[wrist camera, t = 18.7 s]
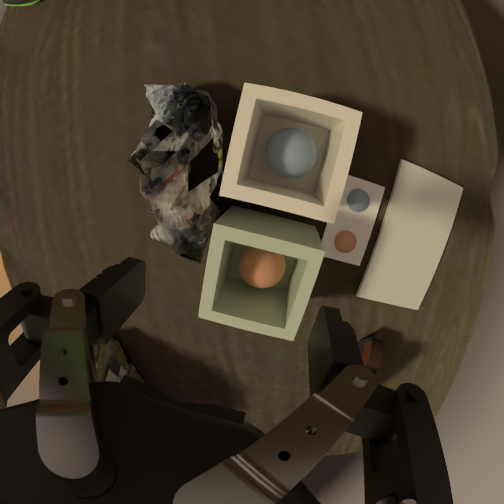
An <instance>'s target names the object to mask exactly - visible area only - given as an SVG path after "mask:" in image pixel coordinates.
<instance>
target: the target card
mask: <svg viewBox="0 0 504 504" xmlns="http://www.w3.org/2000/svg"><path fill="white" fill-rule="evenodd" d="M384 190H385V187H383V186H380V185H377V184H374V183H371V182H368V181H365V180H362V179H359V178H356V177H353V176H350V175H348V176H347V180H346V184H345V187H344V191H343V195H342V198H341V202H340V205H339V209H338V212H337V216H336V219H335V222H334V224H331V223H327V224H326V227H325V230H324V234H323V237H322V240H321V242H322V244H323V247H324V249H325V254H324V257H327V258H331V259H335V260H339V261H342V262H346V263H350V264H354V265H358V266H360V264H361V261H362V258H363V255H364V253H365V250H366V247H367V244H368V241H369V238H370V235H371V232H372V229H373V226H374V223H375V220H376V217H377V213H378V210H379V207H380V203H381V200H382V197H383V193H384Z"/></svg>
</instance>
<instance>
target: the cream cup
mask: <svg viewBox="0 0 504 504" xmlns="http://www.w3.org/2000/svg"><path fill="white" fill-rule="evenodd" d="M362 113H363V112H360V111H357V110H354V109H351V108H348V107H345V106H342V105H339V104H336V103H332V102H329V101H326V100H322V99H318V98H315V97H311V96H307V95H303V94H299V93H295V92H291V91H286V90H282V89H277V88H272V87H267V86H262V85H256V84H250V83H244V86H243V90H242V94H241V99H240V103H239V107H238V111H237V115H236V119H235V124H234V128H233V132H232V137H231V141H230V146H229V150H228V155H227V159H226V164H225V169H224V174H223V178H222V183H221V188H220V193H219V196H224V197H228V198H232V199H237V200H241V201H245V202H250V203H254V204H258V205H262V206H266V207H270V208H274V209H278V210H282V211H286V212H290V213H294V214H298V215H301V216H305V217H309V218H313V219H316V220H320V221H324V222H327V223H331V224H334V222H335V219H336V216H337V212H338V209H339V205H340V202H341V198H342V195H343V191H344V187H345V184H346V180H347V176H348V172H349V168H350V165H351V161H352V157H353V153H354V148H355V144H356V140H357V136H358V131H359V127H360V122H361V118H362ZM284 128H297V129H300V130H302V131H304V132H306V133H307V134H308V135H309V136H310V137H311V138H312V139H313V141H314V143H315V145H316V149H317V157H316V161H315V164H314V166H313V167H312V169H311V170H310V171H309V172H308V173H306V174H305V175H303V176H300V177H296V178H287V177H283V176H281V175H279V174H277V173H276V172H274V171H273V170H272V169H271V167H270V166H269V164H268V162H267V160H266V155H265V149H266V145H267V142H268V140H269V139H270V137H271V136H272V135H273V134H274V133H276V132H277V131H279V130H281V129H284Z"/></svg>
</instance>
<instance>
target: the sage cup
mask: <svg viewBox="0 0 504 504" xmlns="http://www.w3.org/2000/svg"><path fill="white" fill-rule="evenodd" d="M248 246H251V247H255V248H259V249H263V250H267V251H271V252H274V253H278V254H282V255H284V258H285V262H286V268H285V272H284V275H283V277H282V278H281V280H280V281H279V282H278V283H276V284H275V285H273V286H271V287H269V288H256V287H253V286H251V285H249V284H248V283H247V282H246V281H245V280H244V279H243V278H242V276H241V274H240V271H239V259H240V256H241V254H242V252H243V251H244V250H245V248H246V247H248ZM324 254H325V249H324V247H323V244H322V242H321V239H320V237H319V234H318V232H317V229H316V227H315V226H313V225H309V224H306V223H302V222H298V221H294V220H290V219H286V218H283V217H279V216H275V215H271V214H267V213H263V212H258V211H254V210H250V209H246V208H242V207H238V206H232V207H231V208H229V209H228V210H227V211H226V212H225V213H224V214H223V215H222V216H221V217H220V218H219V219H218V220H217V221H216V222H215V223H214V224H213V230H212V235H211V241H210V246H209V252H208V258H207V264H206V270H205V276H204V282H203V288H202V295H201V301H200V308H199V315H198V317H200V318H203V319H207V320H210V321H214V322H217V323H221V324H225V325H229V326H232V327H236V328H240V329H244V330H248V331H252V332H256V333H260V334H264V335H269V336H273V337H277V338H282V339H286V340H291V341H293V340H294V338H295V335H296V333H297V330H298V328H299V325H300V322H301V320H302V317H303V314H304V312H305V309H306V306H307V304H308V301H309V298H310V295H311V292H312V290H313V287H314V284H315V281H316V278H317V275H318V272H319V269H320V266H321V263H322V260H323V257H324Z"/></svg>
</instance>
